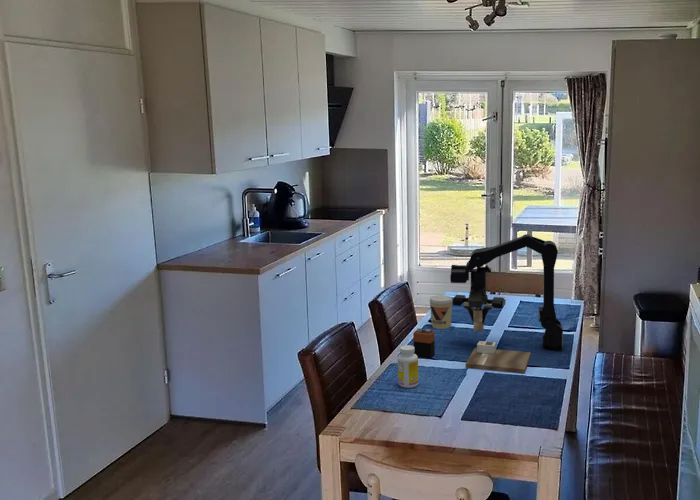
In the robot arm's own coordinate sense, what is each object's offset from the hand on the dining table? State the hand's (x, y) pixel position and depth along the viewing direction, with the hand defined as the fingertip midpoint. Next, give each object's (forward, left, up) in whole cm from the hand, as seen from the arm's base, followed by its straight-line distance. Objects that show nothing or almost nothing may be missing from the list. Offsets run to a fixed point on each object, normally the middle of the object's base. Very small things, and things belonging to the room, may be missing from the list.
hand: (478, 323), depth 265 cm
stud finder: (-5, +11, -7) cm, 14 cm away
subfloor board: (-10, +16, -8) cm, 21 cm away
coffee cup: (+19, -19, -9) cm, 28 cm away
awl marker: (0, 0, -3) cm, 3 cm away
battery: (+17, +16, -9) cm, 25 cm away
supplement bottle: (+15, +44, -9) cm, 47 cm away
